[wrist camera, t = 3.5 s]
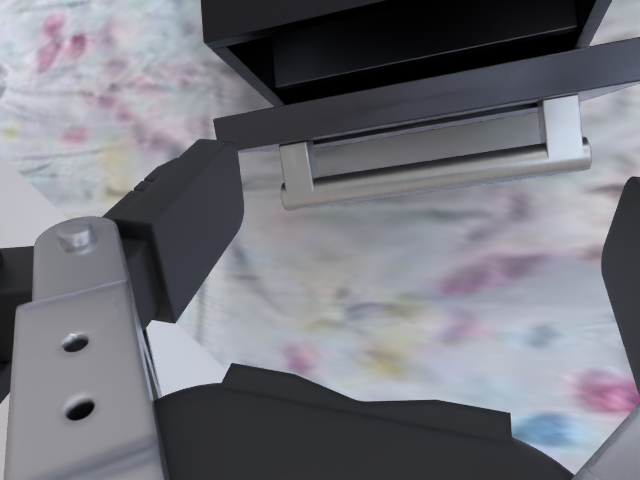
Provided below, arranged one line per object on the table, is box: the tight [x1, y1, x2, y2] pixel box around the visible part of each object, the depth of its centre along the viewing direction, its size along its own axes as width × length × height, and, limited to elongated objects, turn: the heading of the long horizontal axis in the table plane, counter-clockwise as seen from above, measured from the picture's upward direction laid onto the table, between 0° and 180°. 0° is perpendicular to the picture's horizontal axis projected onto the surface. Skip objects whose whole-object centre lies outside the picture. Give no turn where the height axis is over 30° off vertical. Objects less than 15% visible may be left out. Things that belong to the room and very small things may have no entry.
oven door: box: [213, 37, 640, 211], centre depth 28 cm, size 5×18×13 cm, turn 95°
